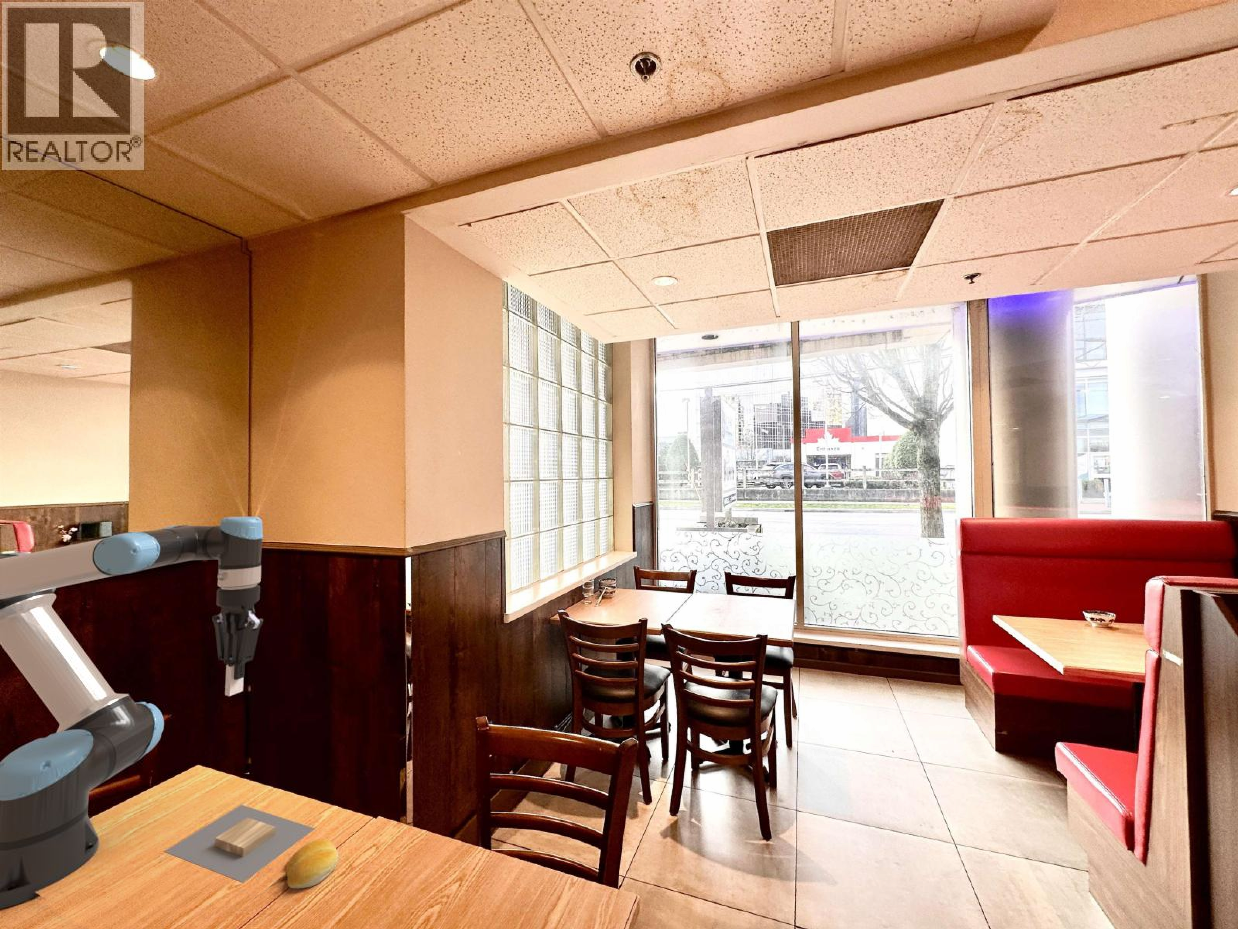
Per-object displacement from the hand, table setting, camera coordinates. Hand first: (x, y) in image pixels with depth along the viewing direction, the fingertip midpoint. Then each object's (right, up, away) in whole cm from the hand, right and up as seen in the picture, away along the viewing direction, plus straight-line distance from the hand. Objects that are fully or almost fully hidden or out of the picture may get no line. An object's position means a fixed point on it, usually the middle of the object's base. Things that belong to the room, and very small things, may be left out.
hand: (234, 693), depth 104 cm
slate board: (+9, -26, -10) cm, 29 cm away
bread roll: (+27, -27, -15) cm, 41 cm away
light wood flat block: (+7, -24, -9) cm, 26 cm away
